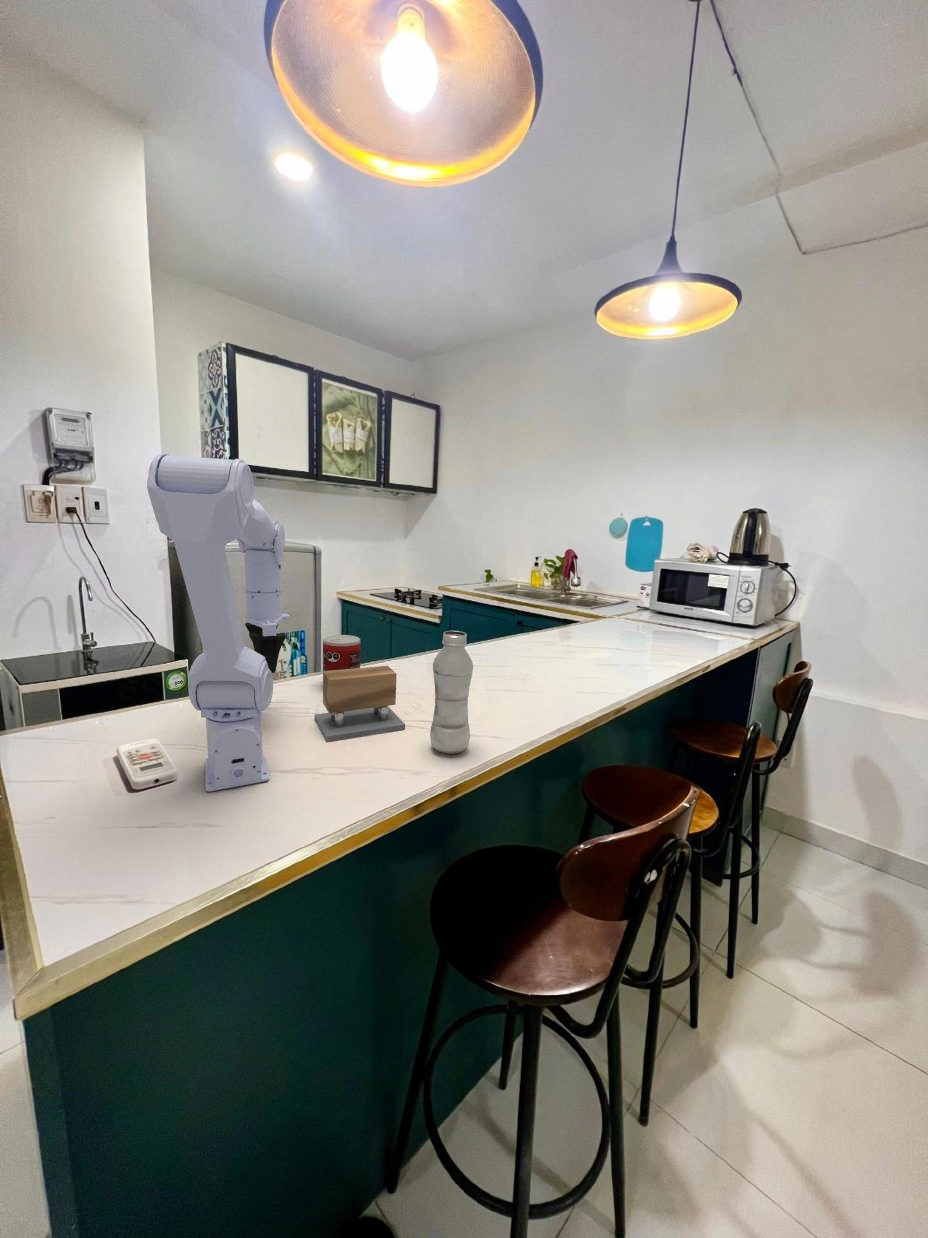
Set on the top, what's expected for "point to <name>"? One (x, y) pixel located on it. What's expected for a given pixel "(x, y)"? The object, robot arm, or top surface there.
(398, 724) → the peg stand
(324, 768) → the top surface
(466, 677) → the plastic bottle
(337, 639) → the canned food
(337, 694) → the shelf block
